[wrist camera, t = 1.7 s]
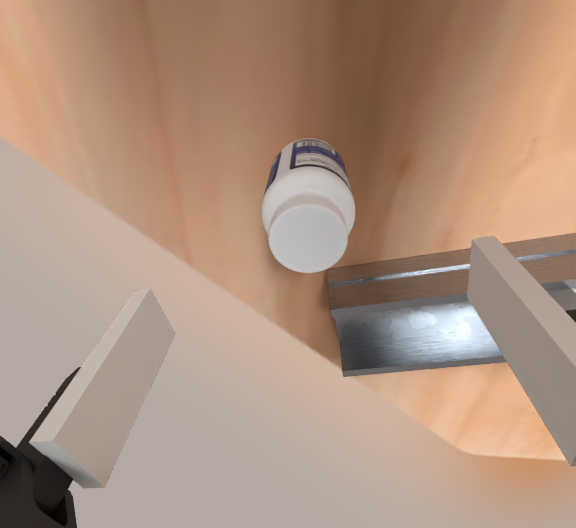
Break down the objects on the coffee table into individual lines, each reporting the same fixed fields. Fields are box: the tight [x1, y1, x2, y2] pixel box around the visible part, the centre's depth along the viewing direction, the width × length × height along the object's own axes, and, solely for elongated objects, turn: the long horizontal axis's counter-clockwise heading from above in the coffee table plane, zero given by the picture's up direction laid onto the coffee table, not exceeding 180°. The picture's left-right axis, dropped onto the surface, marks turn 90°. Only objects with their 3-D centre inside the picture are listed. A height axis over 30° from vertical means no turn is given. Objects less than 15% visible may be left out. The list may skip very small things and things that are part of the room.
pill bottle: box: [261, 138, 355, 273], centre depth 21 cm, size 5×5×10 cm
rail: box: [327, 233, 576, 377], centre depth 28 cm, size 8×20×5 cm, turn 103°
